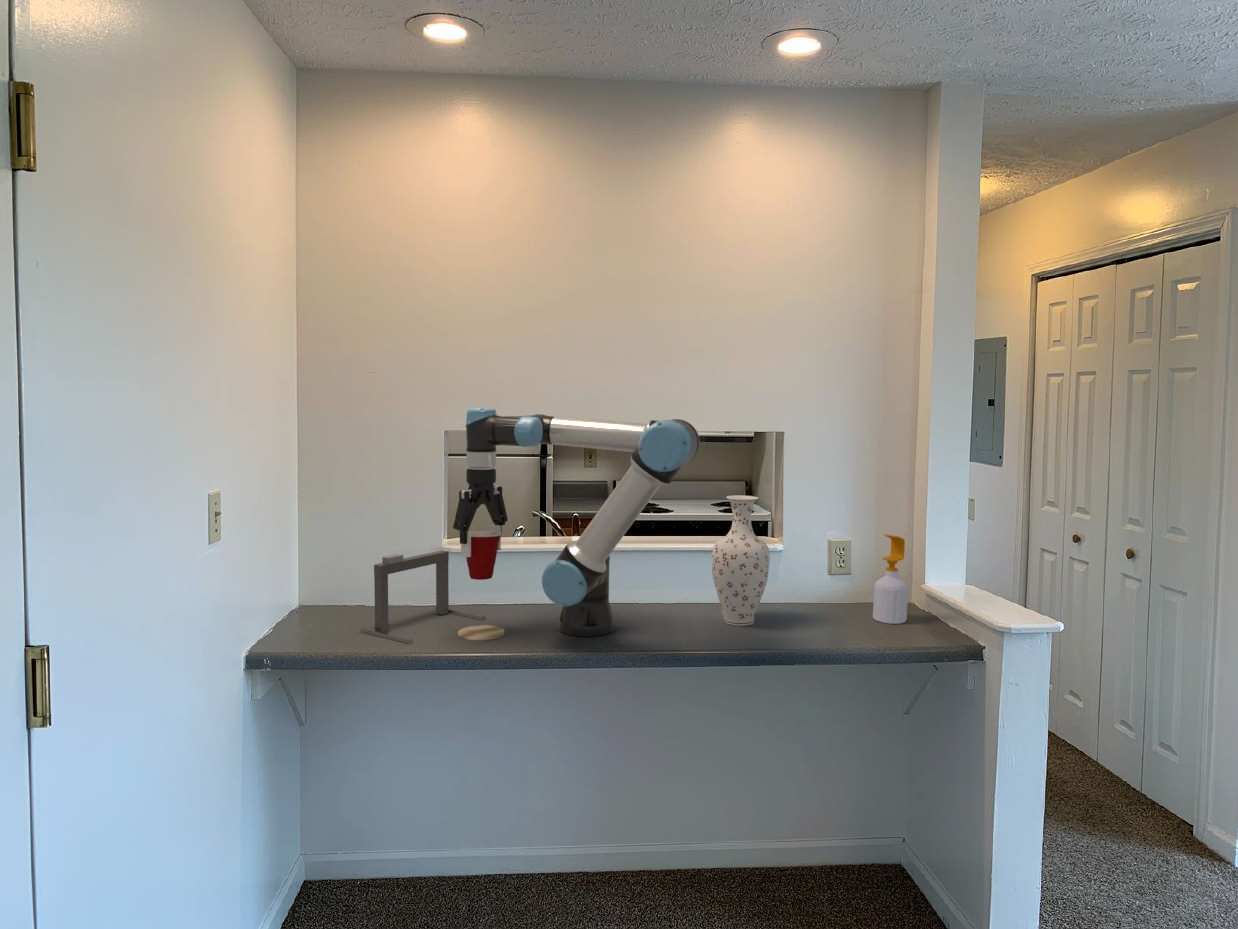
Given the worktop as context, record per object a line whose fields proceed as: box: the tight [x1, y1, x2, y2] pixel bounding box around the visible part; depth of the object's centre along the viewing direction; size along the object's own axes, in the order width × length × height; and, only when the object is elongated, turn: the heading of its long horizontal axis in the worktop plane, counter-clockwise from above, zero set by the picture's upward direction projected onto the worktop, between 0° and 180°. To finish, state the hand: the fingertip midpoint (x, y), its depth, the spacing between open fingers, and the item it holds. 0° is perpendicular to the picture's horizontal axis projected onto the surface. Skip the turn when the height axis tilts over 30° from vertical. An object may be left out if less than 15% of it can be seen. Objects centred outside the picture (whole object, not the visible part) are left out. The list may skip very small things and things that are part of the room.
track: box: [360, 607, 486, 645], centre depth 231 cm, size 18×28×1 cm, turn 147°
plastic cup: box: [465, 530, 503, 581], centre depth 222 cm, size 11×11×12 cm
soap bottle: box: [872, 533, 909, 625], centre depth 242 cm, size 9×9×25 cm
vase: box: [711, 494, 771, 627], centre depth 238 cm, size 16×16×35 cm
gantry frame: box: [373, 550, 450, 632], centre depth 232 cm, size 3×24×19 cm, turn 147°
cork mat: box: [457, 624, 505, 642], centre depth 224 cm, size 12×12×1 cm
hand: (481, 552), depth 222 cm, fingers closed on plastic cup, 11 cm apart
